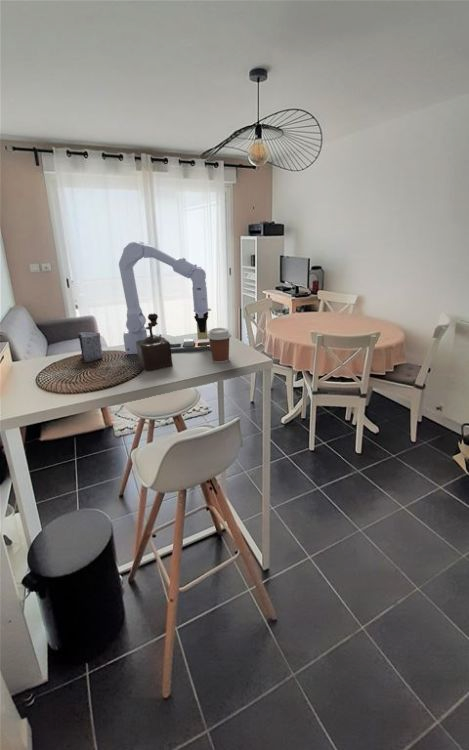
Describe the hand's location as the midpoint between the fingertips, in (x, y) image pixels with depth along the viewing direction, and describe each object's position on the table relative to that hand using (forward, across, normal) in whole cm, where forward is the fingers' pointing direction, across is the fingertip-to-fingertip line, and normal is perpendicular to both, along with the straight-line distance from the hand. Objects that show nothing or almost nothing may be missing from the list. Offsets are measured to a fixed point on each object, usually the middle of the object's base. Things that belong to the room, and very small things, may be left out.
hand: (202, 330), depth 151 cm
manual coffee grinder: (+8, -15, +19) cm, 25 cm away
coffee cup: (+8, -16, -7) cm, 19 cm away
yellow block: (+3, 0, 0) cm, 3 cm away
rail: (+8, 0, +6) cm, 10 cm away
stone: (+8, -6, +45) cm, 46 cm away
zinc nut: (+8, 0, +6) cm, 10 cm away
